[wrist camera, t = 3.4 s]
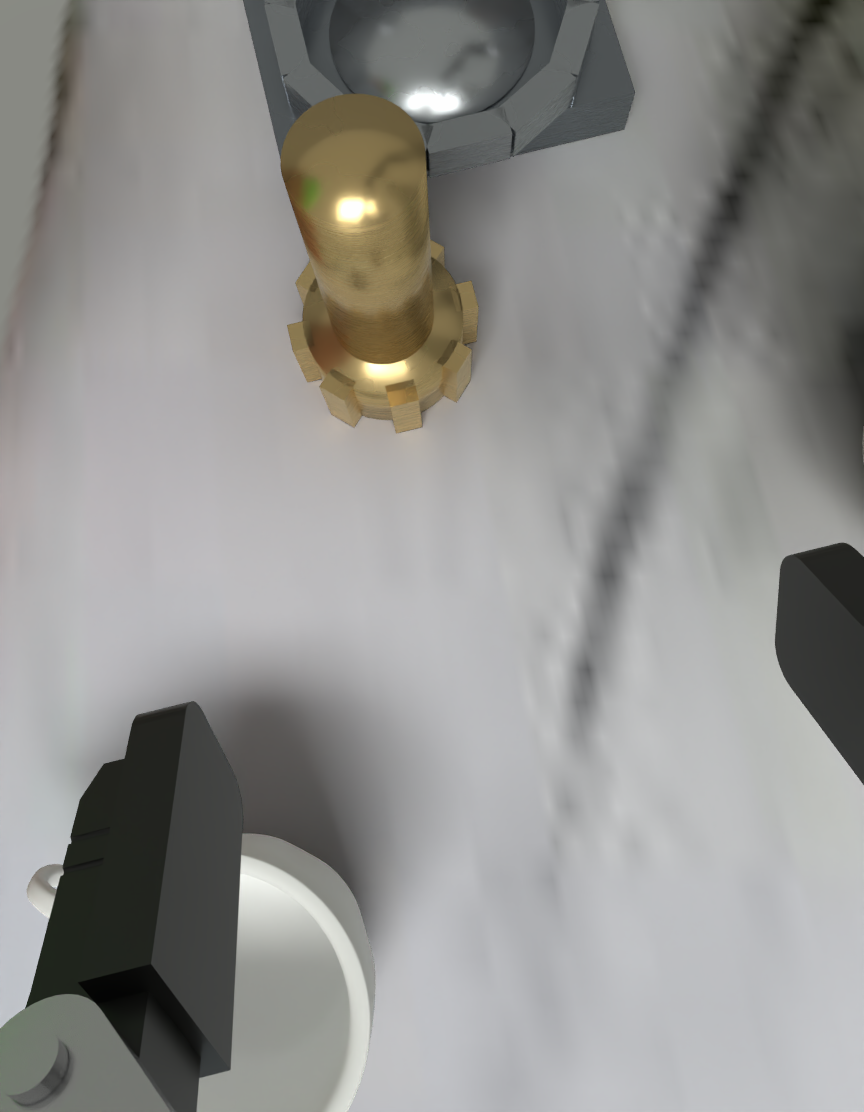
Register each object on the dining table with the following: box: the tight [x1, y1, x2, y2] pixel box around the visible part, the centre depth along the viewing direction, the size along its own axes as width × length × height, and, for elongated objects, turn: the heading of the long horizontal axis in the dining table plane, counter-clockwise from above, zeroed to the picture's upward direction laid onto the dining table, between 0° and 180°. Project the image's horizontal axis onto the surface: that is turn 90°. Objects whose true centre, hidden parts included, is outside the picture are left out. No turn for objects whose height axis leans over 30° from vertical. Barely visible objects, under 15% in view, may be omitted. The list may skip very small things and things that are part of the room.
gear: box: [281, 94, 478, 433], centre depth 23 cm, size 6×6×10 cm
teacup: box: [27, 833, 375, 1112], centre depth 22 cm, size 10×8×5 cm
